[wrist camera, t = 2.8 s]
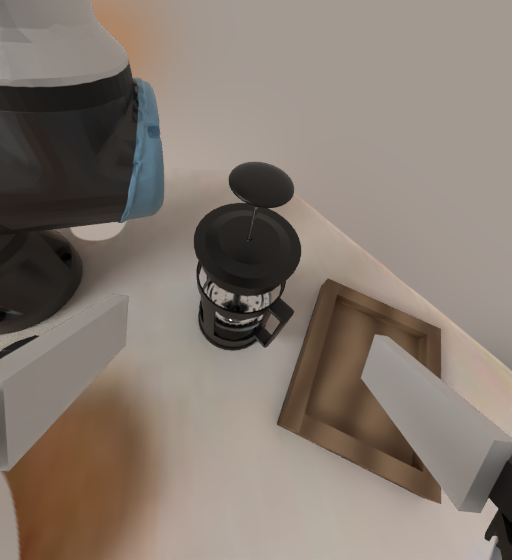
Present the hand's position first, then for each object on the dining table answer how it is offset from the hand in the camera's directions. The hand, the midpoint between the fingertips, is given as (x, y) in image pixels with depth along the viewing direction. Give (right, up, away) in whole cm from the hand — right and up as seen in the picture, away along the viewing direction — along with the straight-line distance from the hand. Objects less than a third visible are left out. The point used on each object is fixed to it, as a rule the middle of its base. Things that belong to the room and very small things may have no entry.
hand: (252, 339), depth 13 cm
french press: (-3, -3, +22) cm, 22 cm away
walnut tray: (+15, -10, +21) cm, 27 cm away
